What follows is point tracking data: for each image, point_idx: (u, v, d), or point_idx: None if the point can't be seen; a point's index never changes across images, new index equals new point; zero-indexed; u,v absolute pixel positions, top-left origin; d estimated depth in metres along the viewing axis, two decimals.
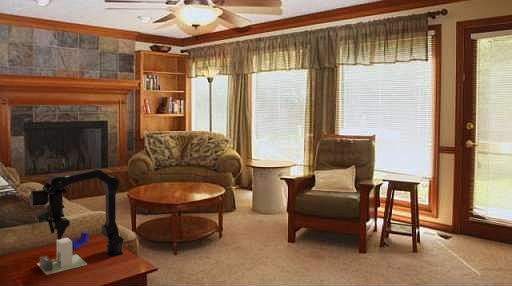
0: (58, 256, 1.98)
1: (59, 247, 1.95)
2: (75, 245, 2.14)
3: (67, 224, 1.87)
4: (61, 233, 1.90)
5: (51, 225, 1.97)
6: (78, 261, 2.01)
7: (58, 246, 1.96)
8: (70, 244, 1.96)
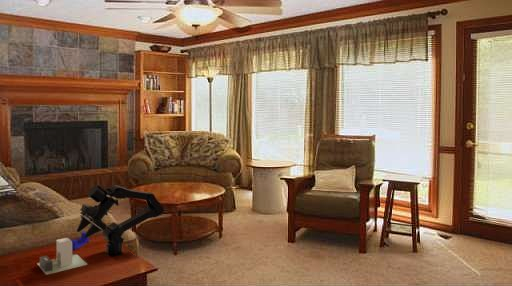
0: (58, 256, 1.98)
1: (59, 247, 1.95)
2: (76, 245, 2.14)
3: (103, 228, 1.99)
4: (91, 233, 1.99)
5: (82, 224, 2.06)
6: (78, 261, 2.01)
7: (58, 246, 1.96)
8: (70, 244, 1.96)
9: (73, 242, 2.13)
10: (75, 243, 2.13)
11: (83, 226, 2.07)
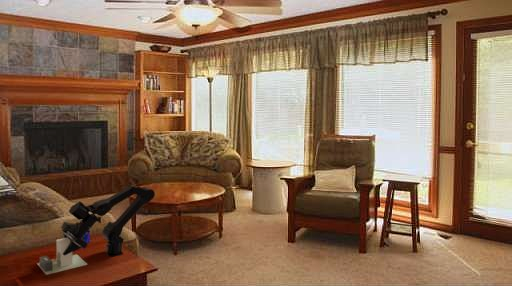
0: (58, 256, 1.98)
1: (59, 247, 1.95)
2: None
3: (84, 246, 1.94)
4: (70, 250, 1.95)
5: None
6: (78, 261, 2.01)
7: (58, 246, 1.96)
8: None
9: None
10: None
11: None
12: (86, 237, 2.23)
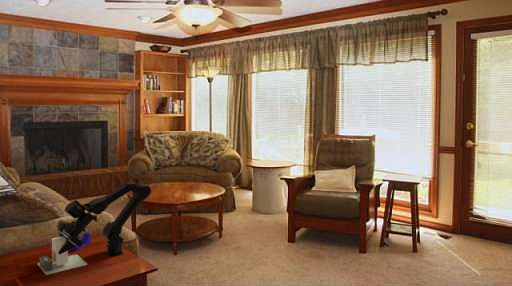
0: (53, 255, 1.97)
1: (54, 246, 1.93)
2: None
3: (80, 245, 1.92)
4: (65, 249, 1.94)
5: None
6: (78, 261, 2.01)
7: (53, 245, 1.94)
8: None
9: None
10: None
11: None
12: (87, 237, 2.23)
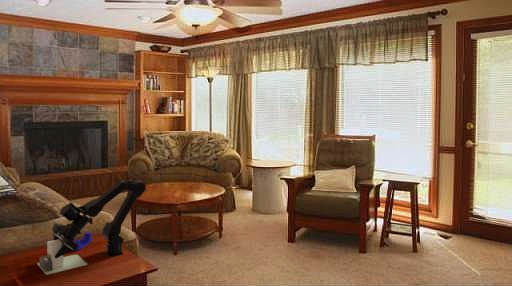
0: (49, 258, 1.96)
1: (50, 249, 1.92)
2: (79, 245, 2.14)
3: (75, 248, 1.91)
4: (62, 253, 1.91)
5: None
6: (78, 261, 2.01)
7: (49, 248, 1.93)
8: None
9: (77, 242, 2.13)
10: (79, 243, 2.13)
11: None
12: (88, 237, 2.23)
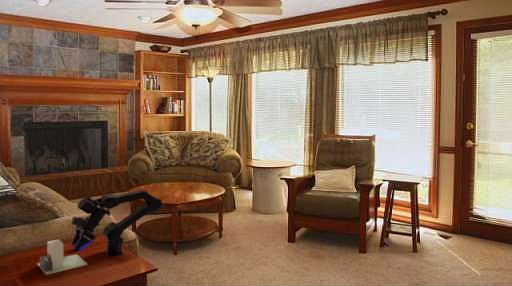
0: (49, 258, 1.96)
1: (50, 249, 1.92)
2: None
3: (92, 238, 1.96)
4: (81, 244, 1.97)
5: (76, 237, 2.06)
6: (78, 261, 2.01)
7: (49, 248, 1.93)
8: (61, 246, 1.93)
9: None
10: None
11: (78, 239, 2.06)
12: None
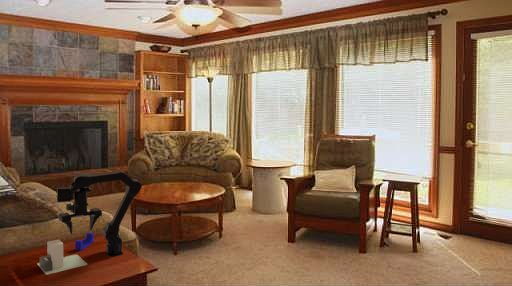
0: (49, 258, 1.96)
1: (50, 249, 1.92)
2: (82, 245, 2.14)
3: (61, 220, 1.97)
4: (69, 228, 2.01)
5: (90, 222, 2.08)
6: (78, 261, 2.01)
7: (49, 248, 1.93)
8: (61, 246, 1.93)
9: (79, 243, 2.13)
10: (81, 243, 2.13)
11: (91, 223, 2.08)
12: (90, 237, 2.23)
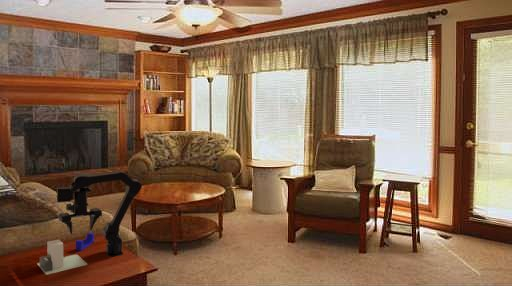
0: (49, 258, 1.96)
1: (50, 249, 1.92)
2: (82, 246, 2.14)
3: (61, 220, 1.97)
4: (69, 228, 2.01)
5: (90, 222, 2.08)
6: (78, 261, 2.01)
7: (49, 248, 1.93)
8: (61, 246, 1.93)
9: (80, 243, 2.13)
10: (82, 244, 2.13)
11: (91, 223, 2.08)
12: (90, 237, 2.23)
